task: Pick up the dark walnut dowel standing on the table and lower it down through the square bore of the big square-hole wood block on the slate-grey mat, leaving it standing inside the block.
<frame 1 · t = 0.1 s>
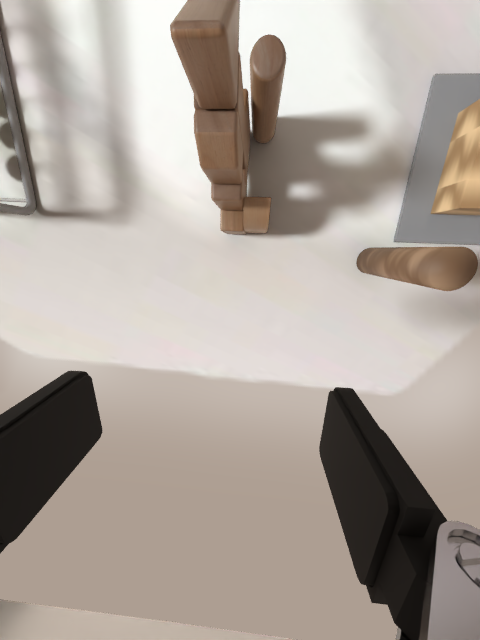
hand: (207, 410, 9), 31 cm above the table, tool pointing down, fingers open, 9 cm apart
walnut dowel: (369, 260, 36), on the table
wooden toy: (249, 180, 34), on the table
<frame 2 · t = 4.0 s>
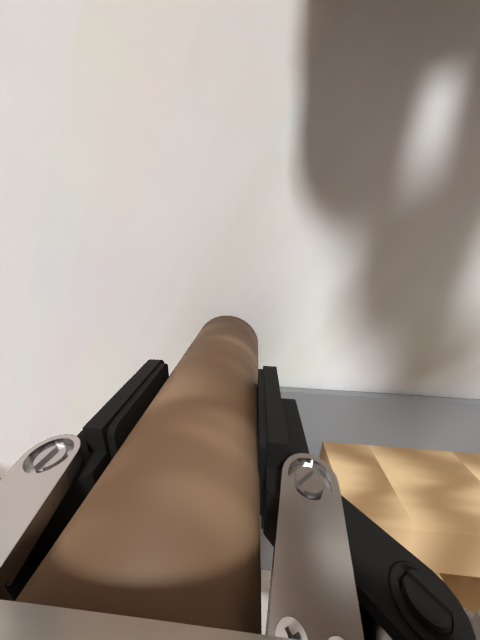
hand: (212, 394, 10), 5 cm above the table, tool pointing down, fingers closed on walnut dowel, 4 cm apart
slate mat: (386, 500, 18), on the table
walnut dowel: (227, 344, 15), on the table, touching gripper
square-hole wood block: (389, 506, 17), resting on slate mat
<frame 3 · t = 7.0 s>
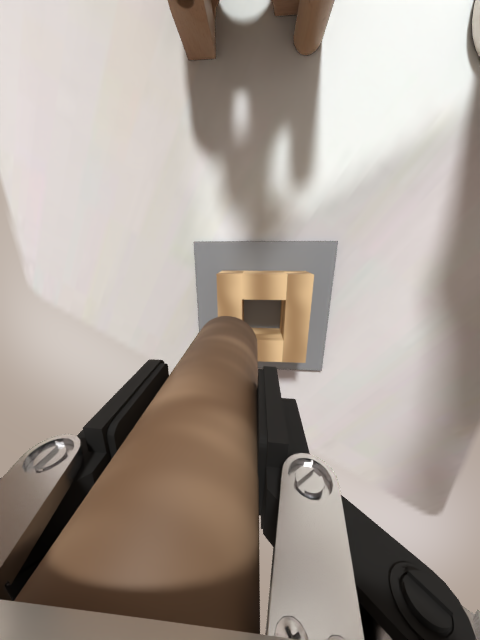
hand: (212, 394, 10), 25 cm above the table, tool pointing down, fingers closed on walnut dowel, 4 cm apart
slate mat: (262, 309, 34), on the table
walnut dowel: (227, 344, 15), point 20 cm above the table, touching gripper
square-hole wood block: (262, 310, 34), resting on slate mat
wooden toy: (252, 22, 25), on the table
when the fingers open (7 cm above the table, at t = 10.3 s): walnut dowel drops 1 cm, resting on slate mat.
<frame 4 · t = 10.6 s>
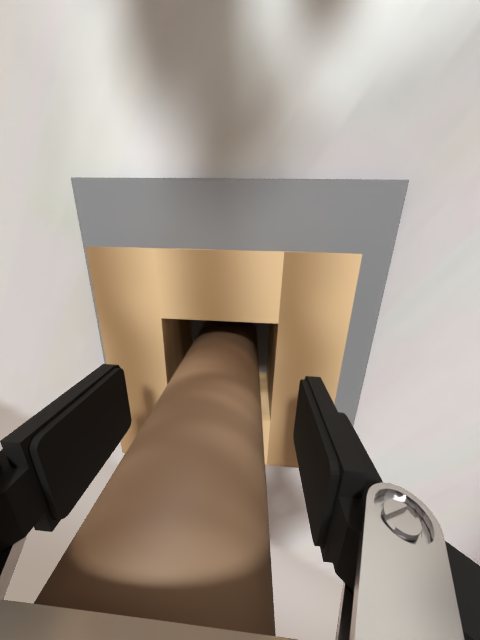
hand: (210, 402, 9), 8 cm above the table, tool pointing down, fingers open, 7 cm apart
slate mat: (230, 333, 17), on the table
walnut dowel: (229, 336, 16), point 1 cm above the table, touching slate mat
square-hole wood block: (230, 336, 16), resting on slate mat
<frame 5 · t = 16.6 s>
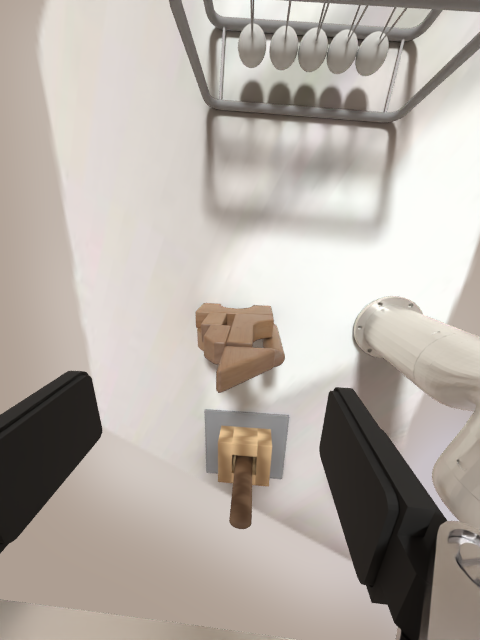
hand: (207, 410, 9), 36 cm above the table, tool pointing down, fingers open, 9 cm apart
slate mat: (245, 444, 56), on the table
walnut dowel: (244, 446, 55), point 1 cm above the table, touching slate mat
square-hole wood block: (245, 446, 55), resting on slate mat
wooden toy: (240, 319, 46), on the table
newton's cradle: (305, 75, 33), on the table
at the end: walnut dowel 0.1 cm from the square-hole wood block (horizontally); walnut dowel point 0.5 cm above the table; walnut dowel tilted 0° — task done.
